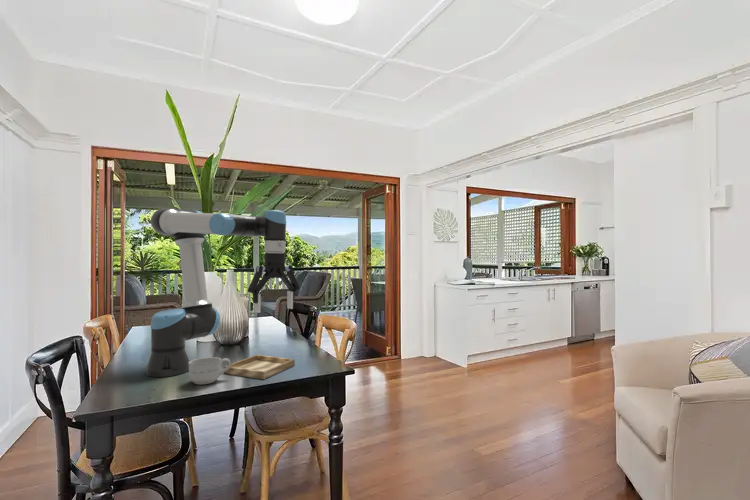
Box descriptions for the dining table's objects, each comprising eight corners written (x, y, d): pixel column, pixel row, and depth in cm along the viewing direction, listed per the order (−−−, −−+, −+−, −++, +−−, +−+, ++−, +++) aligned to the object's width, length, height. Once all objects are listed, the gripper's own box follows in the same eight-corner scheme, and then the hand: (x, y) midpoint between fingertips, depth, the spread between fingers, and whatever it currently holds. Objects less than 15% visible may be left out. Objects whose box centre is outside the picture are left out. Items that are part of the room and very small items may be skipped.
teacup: (185, 388, 136) (185, 364, 136) (191, 378, 147) (191, 356, 147) (229, 384, 140) (229, 361, 140) (231, 375, 151) (231, 354, 151)
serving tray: (223, 373, 153) (223, 366, 153) (256, 360, 171) (256, 354, 171) (264, 379, 146) (264, 372, 146) (294, 365, 163) (294, 359, 163)
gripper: (248, 252, 136) (248, 315, 136) (308, 252, 154) (308, 308, 154) (238, 252, 141) (237, 312, 141) (297, 252, 159) (296, 305, 159)
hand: (274, 310), depth 148 cm, fingers open, 13 cm apart
